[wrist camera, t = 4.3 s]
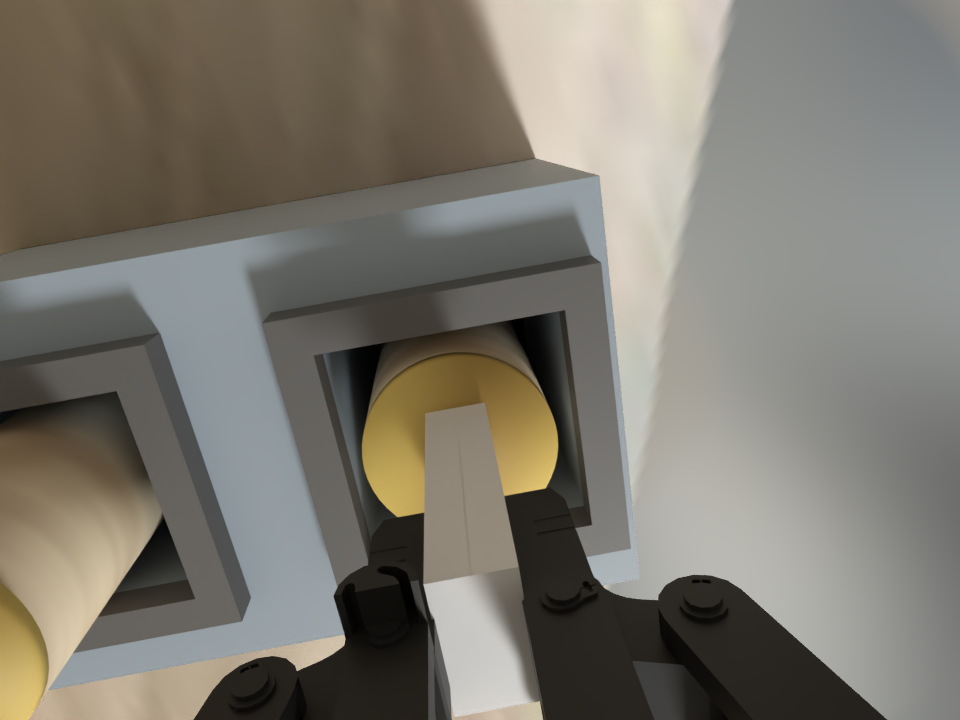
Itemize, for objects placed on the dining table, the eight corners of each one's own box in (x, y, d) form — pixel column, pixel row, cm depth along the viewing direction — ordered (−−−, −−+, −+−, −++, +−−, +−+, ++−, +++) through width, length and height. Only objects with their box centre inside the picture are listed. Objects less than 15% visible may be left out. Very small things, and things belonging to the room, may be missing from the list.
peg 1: (67, 524, 22) (-179, 794, 13) (6, 386, 20) (-323, 588, 11) (217, 497, 22) (74, 747, 13) (169, 357, 20) (-32, 534, 12)
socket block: (126, 517, 29) (-39, 730, 19) (18, 249, 25) (-265, 333, 15) (572, 435, 30) (650, 600, 19) (535, 158, 26) (609, 178, 15)
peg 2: (398, 409, 27) (384, 550, 18) (371, 289, 25) (341, 378, 16) (521, 387, 27) (568, 516, 18) (502, 266, 25) (544, 341, 16)
